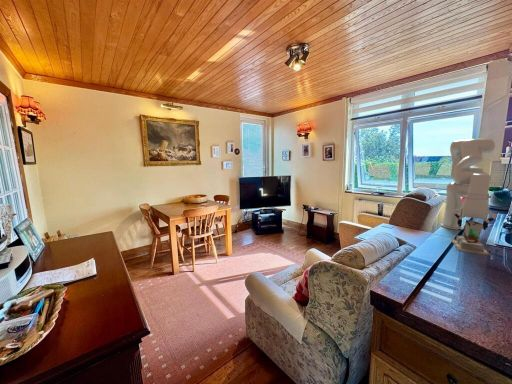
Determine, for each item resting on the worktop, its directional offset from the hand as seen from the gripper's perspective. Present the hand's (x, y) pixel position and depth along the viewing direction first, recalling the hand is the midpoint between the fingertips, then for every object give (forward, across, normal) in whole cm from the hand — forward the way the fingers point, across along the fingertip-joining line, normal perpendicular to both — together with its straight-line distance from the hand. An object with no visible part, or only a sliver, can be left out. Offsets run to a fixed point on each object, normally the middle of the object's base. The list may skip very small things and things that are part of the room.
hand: (471, 227), depth 120 cm
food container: (+7, -1, 0) cm, 8 cm away
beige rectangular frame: (+11, 0, +1) cm, 11 cm away
